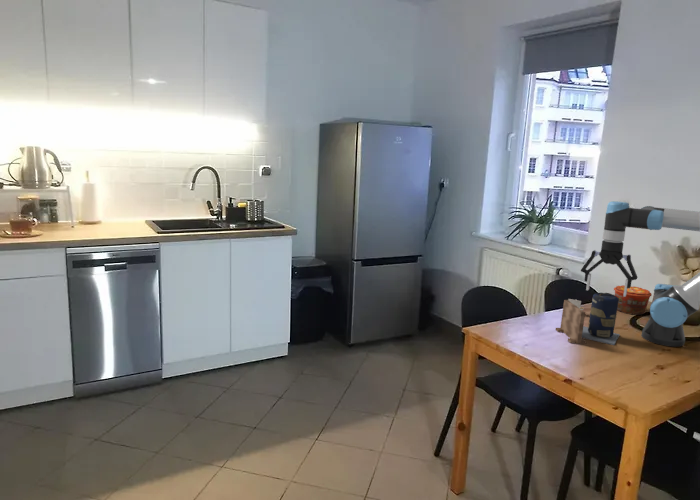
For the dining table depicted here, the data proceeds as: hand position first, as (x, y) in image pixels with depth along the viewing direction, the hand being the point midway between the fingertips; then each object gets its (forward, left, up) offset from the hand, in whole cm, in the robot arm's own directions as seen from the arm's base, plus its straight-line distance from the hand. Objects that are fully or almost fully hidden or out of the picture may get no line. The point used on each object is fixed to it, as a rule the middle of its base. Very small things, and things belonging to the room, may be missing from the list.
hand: (605, 292), depth 204 cm
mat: (0, 0, -19) cm, 19 cm away
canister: (0, 0, -18) cm, 18 cm away
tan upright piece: (+9, +9, -19) cm, 23 cm away
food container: (-6, -50, -19) cm, 54 cm away
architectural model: (+15, -24, -19) cm, 35 cm away
